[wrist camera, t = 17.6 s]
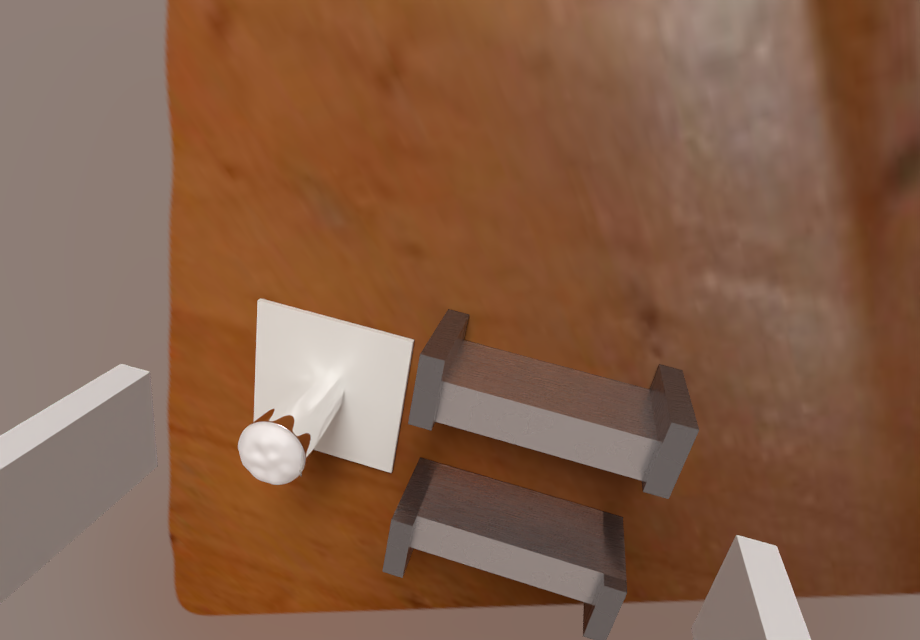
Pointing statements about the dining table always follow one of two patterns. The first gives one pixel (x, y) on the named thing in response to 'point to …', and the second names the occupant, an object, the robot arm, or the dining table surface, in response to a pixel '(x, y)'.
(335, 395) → the milkshake
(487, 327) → the dining table surface
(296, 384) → the pad
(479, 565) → the brackets
